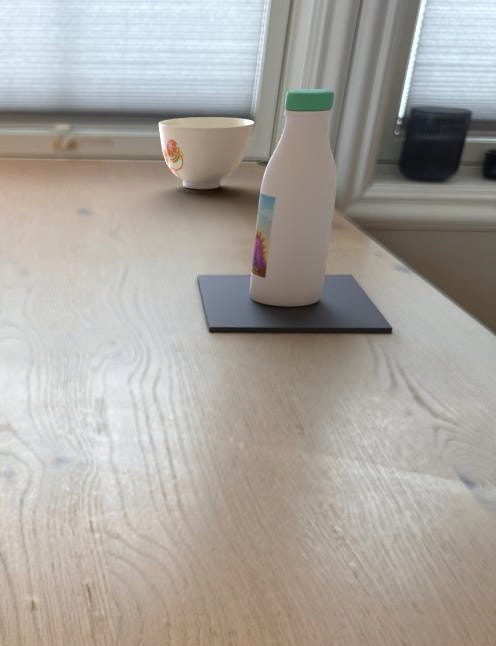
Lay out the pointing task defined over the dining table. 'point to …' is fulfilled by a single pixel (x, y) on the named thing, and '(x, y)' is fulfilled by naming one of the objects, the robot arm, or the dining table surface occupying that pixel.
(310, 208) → the milk bottle
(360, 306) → the placemat
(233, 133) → the bowl
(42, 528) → the dining table surface
